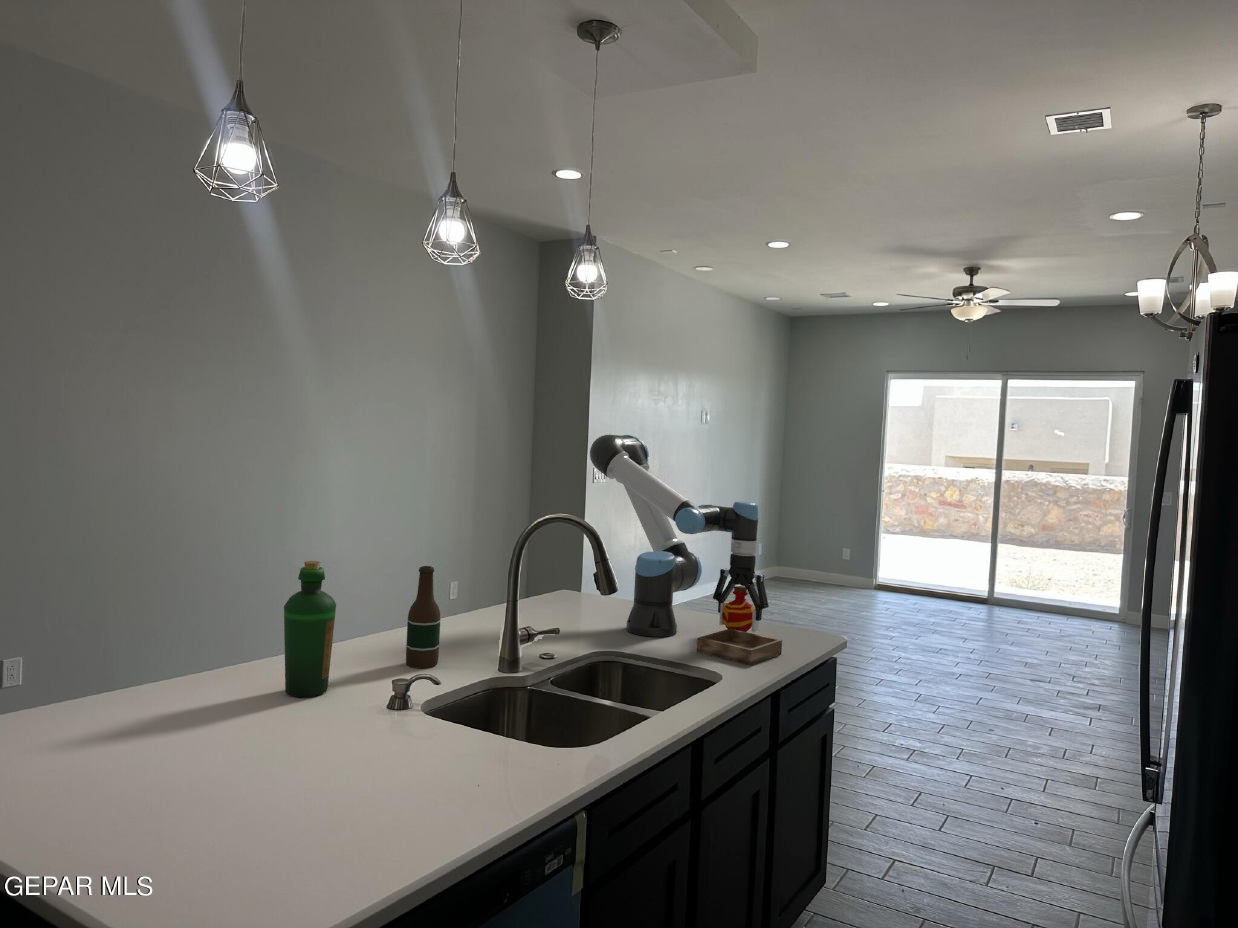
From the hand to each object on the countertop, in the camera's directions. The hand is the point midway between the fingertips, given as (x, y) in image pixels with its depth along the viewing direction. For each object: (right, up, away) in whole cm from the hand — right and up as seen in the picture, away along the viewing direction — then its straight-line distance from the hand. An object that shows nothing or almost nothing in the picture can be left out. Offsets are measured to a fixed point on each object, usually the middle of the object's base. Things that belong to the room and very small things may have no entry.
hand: (738, 627), depth 256 cm
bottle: (-103, 0, -73) cm, 126 cm away
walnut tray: (-2, -4, -18) cm, 19 cm away
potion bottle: (0, -3, 0) cm, 3 cm away
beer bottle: (-84, 0, -47) cm, 96 cm away
